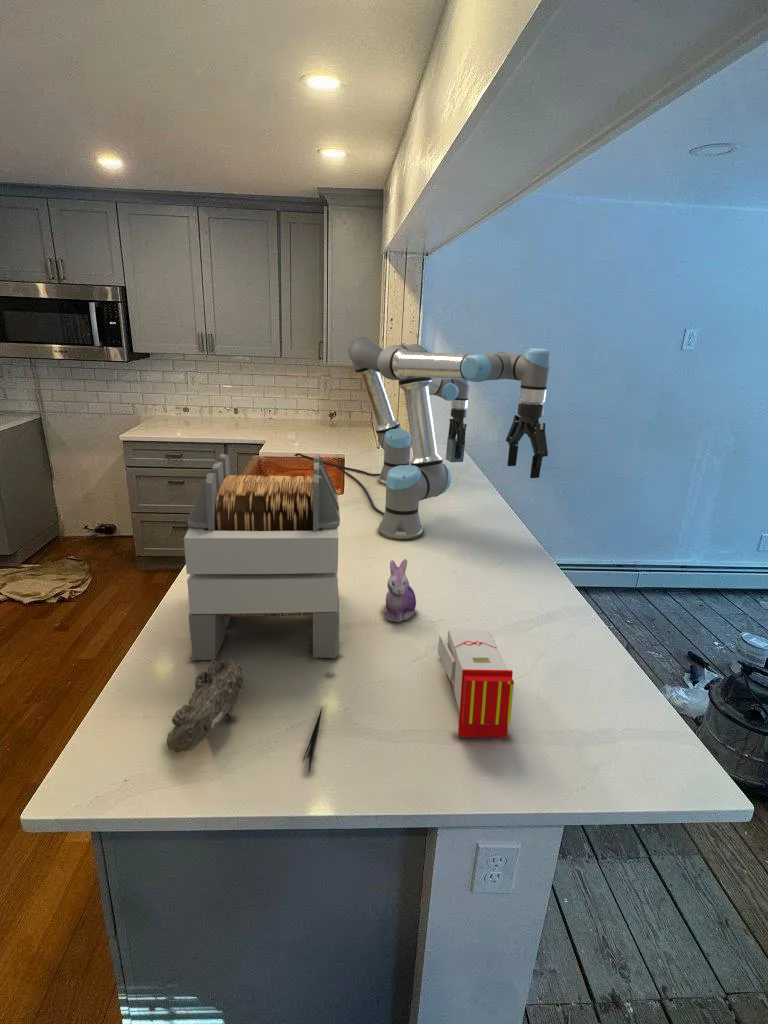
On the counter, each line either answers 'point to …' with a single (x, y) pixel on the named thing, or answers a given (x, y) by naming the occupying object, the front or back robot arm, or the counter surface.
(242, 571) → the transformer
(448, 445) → the brick
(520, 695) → the counter surface
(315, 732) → the feather
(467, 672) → the toy
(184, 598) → the counter surface
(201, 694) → the fossil
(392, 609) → the figurine
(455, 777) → the counter surface
